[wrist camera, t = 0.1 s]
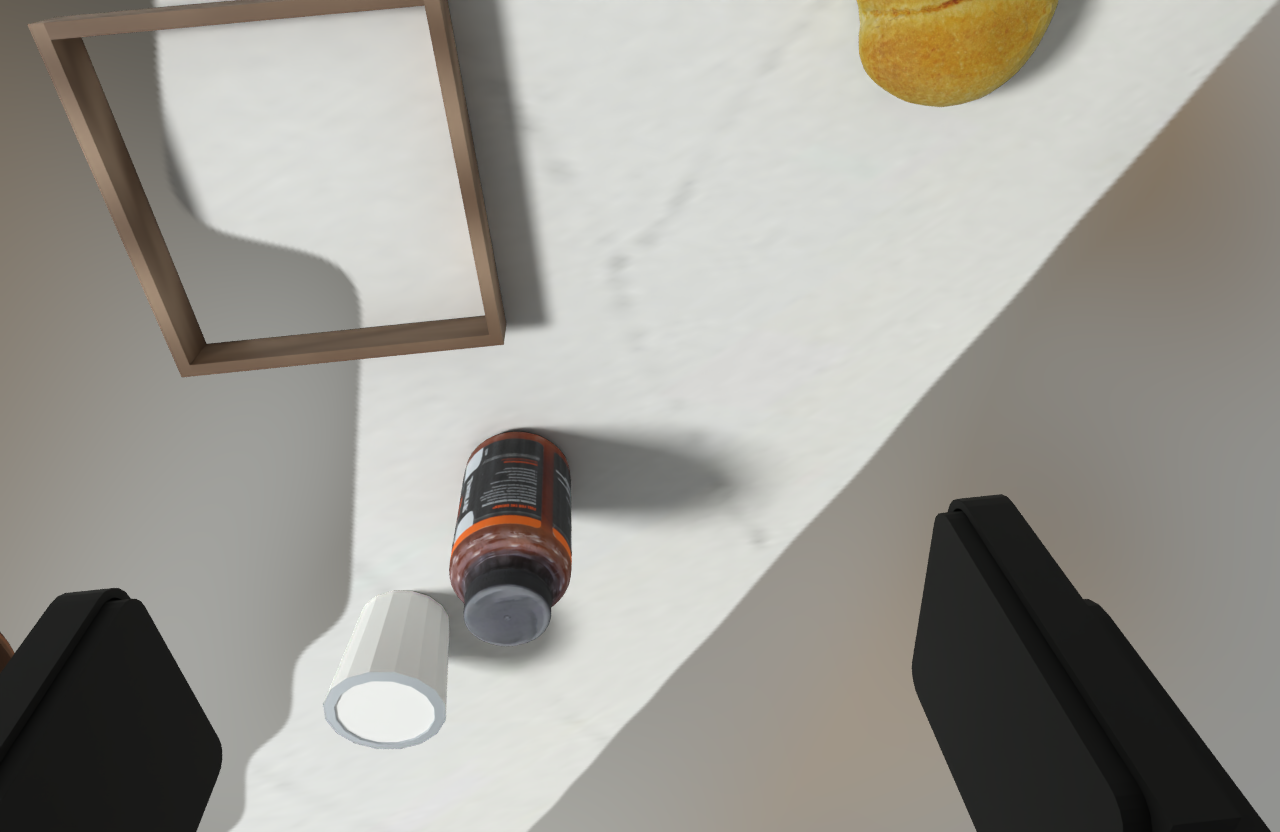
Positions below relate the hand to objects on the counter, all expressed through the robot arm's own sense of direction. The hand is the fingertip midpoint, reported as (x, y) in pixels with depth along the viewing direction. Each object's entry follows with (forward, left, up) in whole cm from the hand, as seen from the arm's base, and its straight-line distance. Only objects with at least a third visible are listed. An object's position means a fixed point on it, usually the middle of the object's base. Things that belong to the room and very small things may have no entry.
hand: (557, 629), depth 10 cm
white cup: (+31, -14, -32) cm, 46 cm away
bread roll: (-1, +19, -32) cm, 37 cm away
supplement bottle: (+20, -5, -32) cm, 38 cm away
